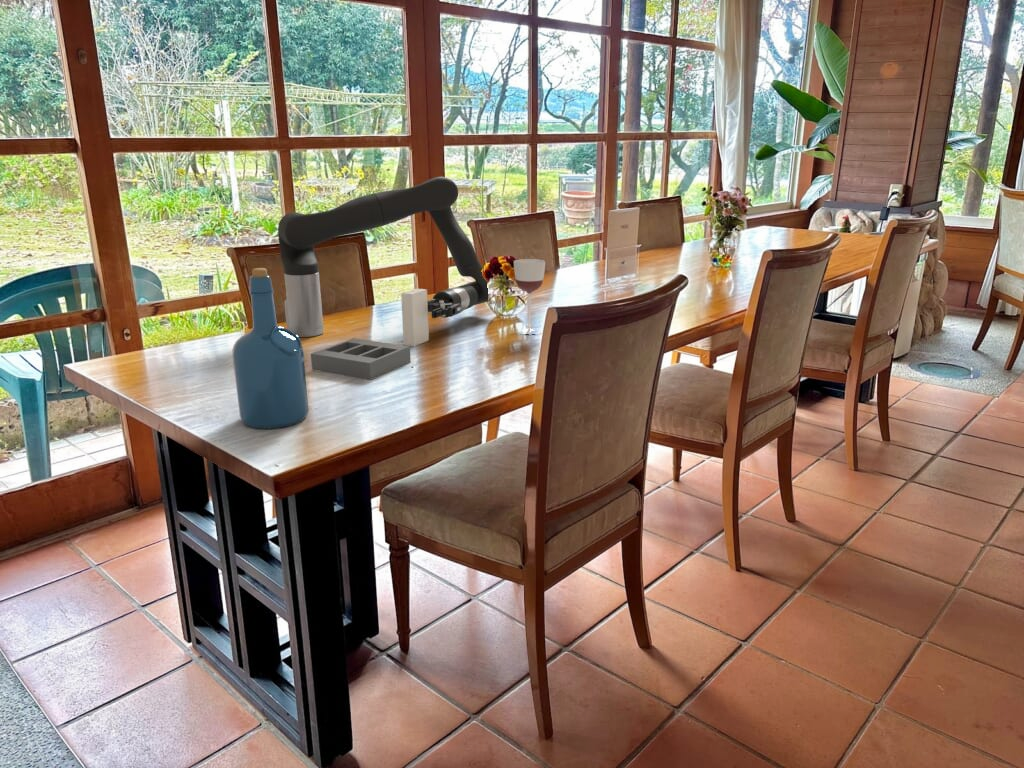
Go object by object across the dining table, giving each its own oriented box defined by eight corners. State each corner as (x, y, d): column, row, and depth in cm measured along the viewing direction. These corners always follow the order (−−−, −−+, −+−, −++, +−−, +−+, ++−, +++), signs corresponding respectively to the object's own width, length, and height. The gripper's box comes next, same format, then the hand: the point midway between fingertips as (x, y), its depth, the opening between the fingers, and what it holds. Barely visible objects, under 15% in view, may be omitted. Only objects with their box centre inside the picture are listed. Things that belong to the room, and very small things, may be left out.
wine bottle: (225, 426, 151) (205, 272, 141) (268, 404, 163) (253, 261, 153) (284, 435, 146) (267, 277, 137) (324, 412, 158) (311, 265, 149)
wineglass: (542, 336, 215) (542, 264, 209) (511, 334, 217) (511, 263, 210) (546, 329, 223) (547, 259, 216) (516, 327, 224) (516, 258, 218)
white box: (403, 344, 207) (401, 293, 203) (418, 338, 213) (416, 288, 208) (414, 346, 205) (411, 294, 201) (428, 340, 211) (427, 289, 207)
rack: (312, 369, 186) (310, 353, 185) (354, 353, 199) (353, 338, 198) (370, 379, 178) (369, 363, 177) (410, 362, 192) (409, 346, 190)
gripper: (429, 286, 224) (396, 296, 210) (472, 291, 218) (441, 301, 204) (430, 312, 227) (398, 323, 213) (472, 317, 220) (442, 329, 207)
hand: (419, 313), depth 209 cm, fingers open, 8 cm apart
